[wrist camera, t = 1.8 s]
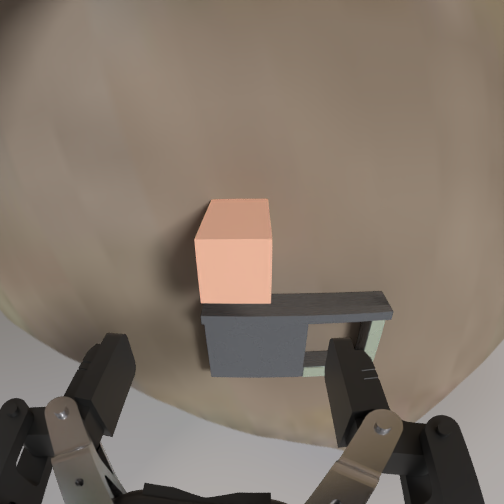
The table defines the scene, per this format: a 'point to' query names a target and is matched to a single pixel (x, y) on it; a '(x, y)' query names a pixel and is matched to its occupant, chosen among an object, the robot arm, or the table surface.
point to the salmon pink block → (235, 252)
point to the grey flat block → (286, 332)
